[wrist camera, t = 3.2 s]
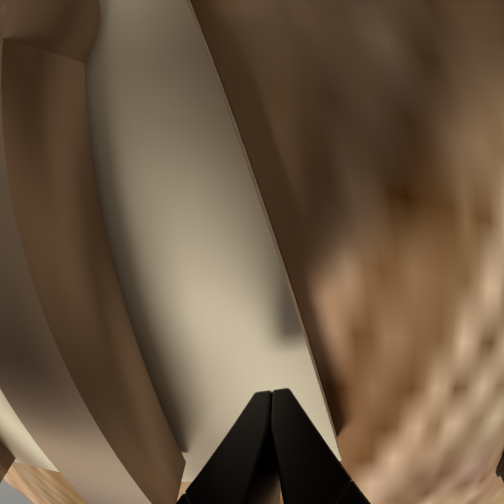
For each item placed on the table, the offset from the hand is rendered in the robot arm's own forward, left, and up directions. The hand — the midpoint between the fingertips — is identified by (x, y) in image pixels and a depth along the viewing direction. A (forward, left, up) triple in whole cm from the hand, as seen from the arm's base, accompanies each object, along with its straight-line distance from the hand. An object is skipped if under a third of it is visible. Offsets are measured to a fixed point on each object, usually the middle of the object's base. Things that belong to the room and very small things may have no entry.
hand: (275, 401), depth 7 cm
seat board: (+10, -5, -3) cm, 12 cm away
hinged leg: (+4, -5, -1) cm, 6 cm away
